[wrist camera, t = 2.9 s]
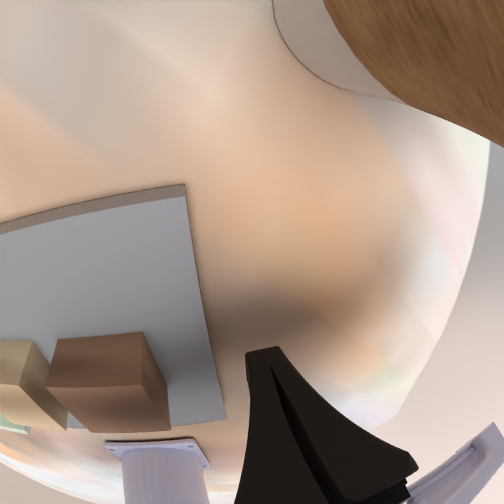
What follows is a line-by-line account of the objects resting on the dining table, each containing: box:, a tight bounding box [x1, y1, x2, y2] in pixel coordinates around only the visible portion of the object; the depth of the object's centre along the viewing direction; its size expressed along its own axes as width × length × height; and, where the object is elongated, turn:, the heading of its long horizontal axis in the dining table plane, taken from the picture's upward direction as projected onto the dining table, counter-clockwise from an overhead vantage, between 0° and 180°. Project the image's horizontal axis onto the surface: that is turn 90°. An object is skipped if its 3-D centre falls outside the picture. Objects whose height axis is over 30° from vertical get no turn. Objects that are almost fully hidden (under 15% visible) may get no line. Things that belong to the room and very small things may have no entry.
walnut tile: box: [45, 331, 171, 433], centre depth 10 cm, size 4×4×2 cm
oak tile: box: [0, 340, 68, 431], centre depth 9 cm, size 4×4×2 cm
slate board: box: [0, 184, 227, 429], centre depth 11 cm, size 14×15×1 cm
